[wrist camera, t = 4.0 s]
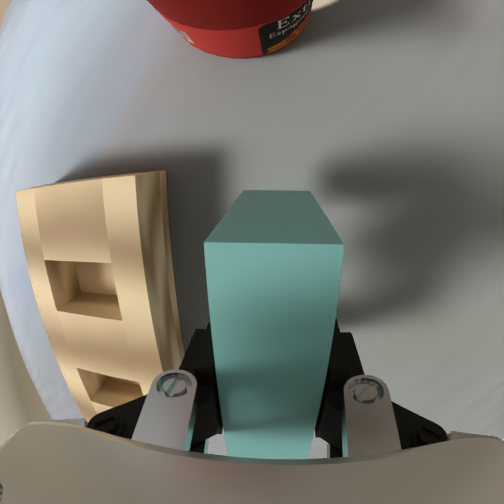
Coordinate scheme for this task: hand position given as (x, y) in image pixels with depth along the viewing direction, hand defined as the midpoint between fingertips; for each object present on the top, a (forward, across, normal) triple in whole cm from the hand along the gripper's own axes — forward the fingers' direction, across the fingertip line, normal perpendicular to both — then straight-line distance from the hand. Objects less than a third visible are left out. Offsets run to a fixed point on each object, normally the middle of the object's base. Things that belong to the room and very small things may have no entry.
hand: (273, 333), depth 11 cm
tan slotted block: (+7, +11, +4) cm, 13 cm away
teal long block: (+3, 0, 0) cm, 3 cm away
